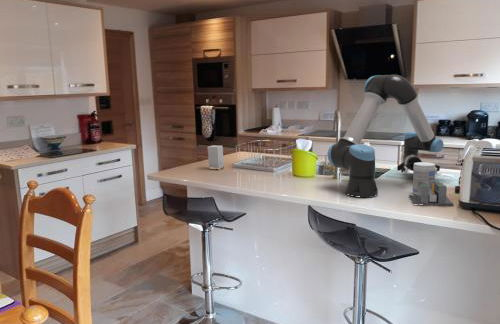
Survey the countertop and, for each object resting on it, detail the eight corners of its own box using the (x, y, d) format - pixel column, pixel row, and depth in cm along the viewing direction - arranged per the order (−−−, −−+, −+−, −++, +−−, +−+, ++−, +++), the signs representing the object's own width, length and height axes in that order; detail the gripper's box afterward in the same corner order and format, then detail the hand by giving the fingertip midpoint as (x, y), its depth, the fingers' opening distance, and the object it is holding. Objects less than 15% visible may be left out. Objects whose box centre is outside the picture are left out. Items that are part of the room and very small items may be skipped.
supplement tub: (433, 197, 185) (434, 166, 182) (411, 195, 190) (412, 164, 187) (435, 192, 193) (436, 162, 191) (413, 190, 198) (415, 161, 195)
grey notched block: (408, 197, 186) (409, 179, 185) (445, 198, 183) (446, 180, 182) (413, 205, 175) (414, 186, 173) (453, 206, 172) (454, 186, 170)
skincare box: (224, 168, 267) (223, 145, 264) (218, 170, 261) (217, 147, 258) (214, 167, 271) (213, 144, 268) (208, 169, 266) (207, 146, 263)
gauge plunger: (417, 195, 185) (417, 178, 183) (438, 195, 183) (439, 178, 181) (421, 201, 175) (422, 183, 173) (444, 201, 173) (445, 183, 171)
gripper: (438, 169, 216) (448, 179, 196) (389, 169, 221) (394, 178, 201) (438, 156, 214) (449, 164, 194) (389, 156, 220) (394, 163, 200)
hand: (421, 171), depth 197 cm, fingers open, 13 cm apart
